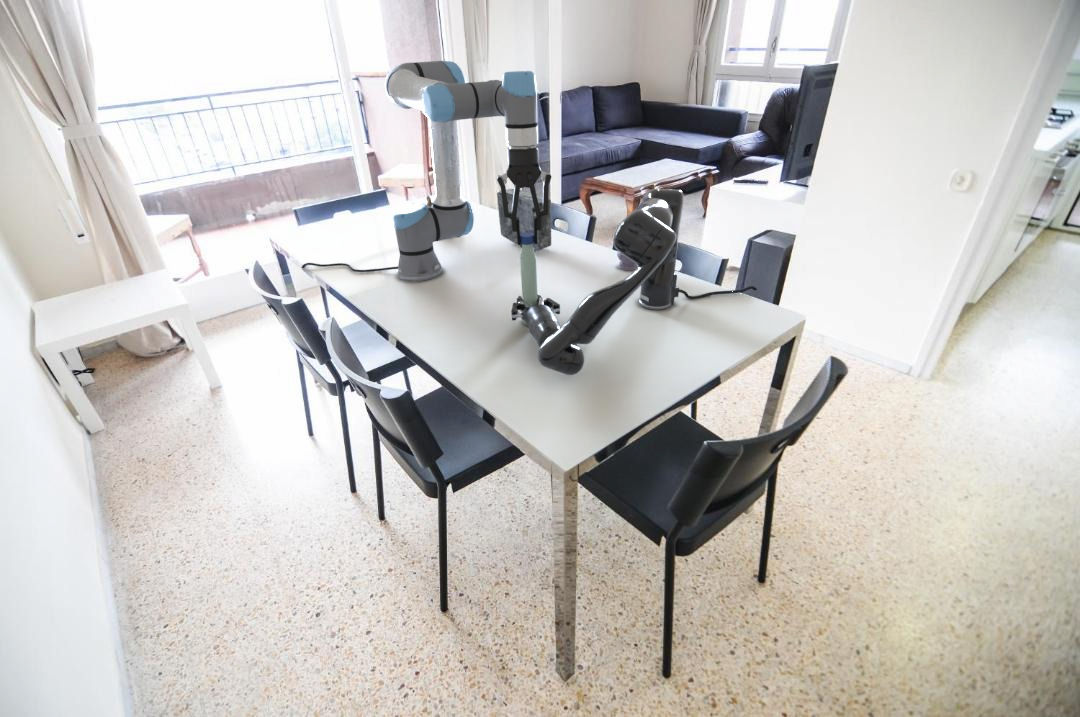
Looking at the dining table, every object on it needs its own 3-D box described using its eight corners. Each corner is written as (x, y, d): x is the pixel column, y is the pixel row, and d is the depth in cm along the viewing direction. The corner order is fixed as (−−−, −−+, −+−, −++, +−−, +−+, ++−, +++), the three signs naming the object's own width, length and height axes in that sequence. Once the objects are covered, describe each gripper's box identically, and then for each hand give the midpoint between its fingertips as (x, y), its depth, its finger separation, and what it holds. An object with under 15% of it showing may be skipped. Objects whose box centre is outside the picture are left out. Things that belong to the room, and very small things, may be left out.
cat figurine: (645, 266, 174) (647, 232, 168) (632, 273, 170) (634, 238, 163) (624, 261, 180) (626, 228, 173) (611, 267, 175) (613, 233, 168)
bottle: (534, 326, 139) (530, 240, 126) (521, 323, 141) (516, 238, 128) (541, 320, 142) (537, 235, 129) (527, 317, 144) (523, 233, 131)
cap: (520, 240, 131) (520, 232, 130) (535, 240, 131) (535, 232, 130) (518, 244, 128) (518, 237, 127) (534, 244, 128) (533, 237, 126)
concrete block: (556, 252, 190) (555, 199, 179) (537, 257, 186) (535, 203, 175) (517, 236, 209) (515, 187, 198) (500, 240, 204) (496, 190, 194)
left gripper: (555, 142, 121) (557, 236, 133) (486, 145, 120) (494, 240, 132) (559, 147, 115) (561, 245, 127) (487, 150, 113) (495, 249, 126)
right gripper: (569, 307, 126) (551, 282, 140) (514, 315, 123) (502, 289, 137) (569, 333, 130) (552, 306, 144) (516, 341, 127) (504, 313, 141)
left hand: (527, 242), depth 129 cm, fingers closed on cap, 4 cm apart
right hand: (527, 298), depth 141 cm, fingers closed on bottle, 4 cm apart
